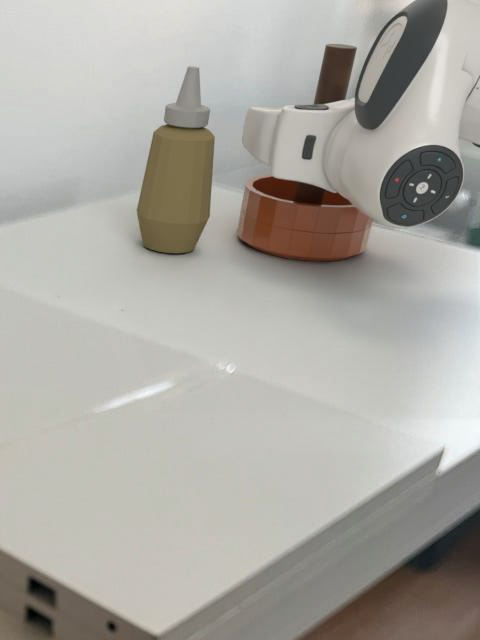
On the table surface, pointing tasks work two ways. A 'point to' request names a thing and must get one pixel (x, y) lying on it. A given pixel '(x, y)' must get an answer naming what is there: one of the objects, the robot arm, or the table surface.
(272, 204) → the bowl
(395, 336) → the table surface
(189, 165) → the squeeze bottle
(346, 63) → the stirring stick
